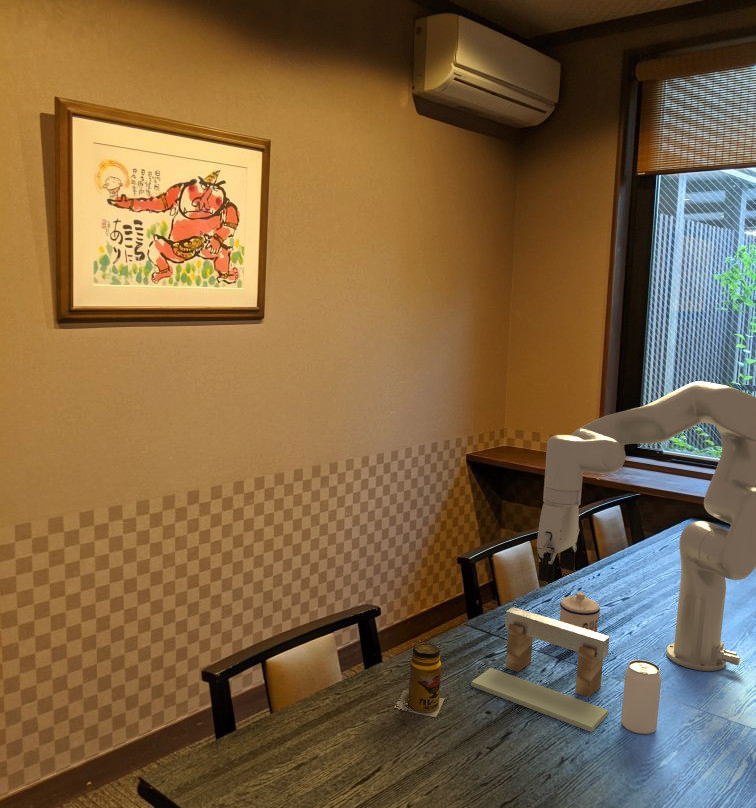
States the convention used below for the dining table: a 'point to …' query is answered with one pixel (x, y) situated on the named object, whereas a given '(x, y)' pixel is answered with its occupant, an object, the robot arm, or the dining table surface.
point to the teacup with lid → (580, 612)
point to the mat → (541, 699)
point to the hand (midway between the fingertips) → (556, 574)
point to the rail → (558, 632)
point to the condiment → (424, 681)
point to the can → (641, 697)
